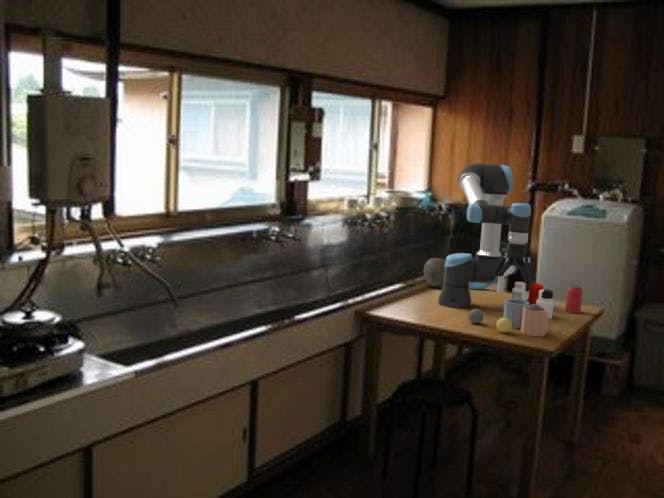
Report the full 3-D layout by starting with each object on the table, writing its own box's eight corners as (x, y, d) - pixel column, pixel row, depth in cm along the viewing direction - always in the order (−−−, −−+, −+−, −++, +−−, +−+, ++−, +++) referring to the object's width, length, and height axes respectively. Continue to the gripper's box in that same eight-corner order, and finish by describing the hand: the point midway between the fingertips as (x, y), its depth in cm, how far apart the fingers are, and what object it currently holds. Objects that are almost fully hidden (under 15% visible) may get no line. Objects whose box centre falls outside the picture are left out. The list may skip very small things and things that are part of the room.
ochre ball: (492, 331, 295) (494, 316, 294) (504, 330, 298) (505, 315, 297) (502, 335, 290) (504, 320, 289) (514, 333, 293) (515, 319, 292)
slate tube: (497, 322, 309) (499, 299, 307) (515, 321, 314) (518, 298, 312) (513, 328, 301) (515, 305, 299) (531, 327, 305) (534, 303, 304)
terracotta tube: (515, 330, 298) (517, 306, 297) (534, 328, 303) (536, 305, 301) (532, 337, 290) (534, 312, 288) (551, 335, 295) (553, 310, 293)
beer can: (581, 314, 334) (584, 288, 332) (566, 312, 336) (569, 287, 334) (579, 311, 341) (582, 285, 339) (564, 309, 342) (567, 284, 340)
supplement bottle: (515, 308, 339) (518, 280, 337) (528, 311, 334) (531, 283, 332) (507, 309, 334) (510, 282, 332) (520, 313, 329) (523, 285, 327)
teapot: (483, 285, 389) (485, 265, 387) (494, 291, 374) (496, 271, 372) (456, 284, 386) (458, 265, 385) (466, 290, 372) (468, 270, 370)
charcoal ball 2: (525, 320, 295) (522, 306, 299) (536, 322, 298) (533, 308, 301) (535, 314, 291) (532, 300, 294) (546, 316, 294) (543, 302, 297)
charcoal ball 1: (465, 321, 307) (466, 307, 306) (476, 320, 310) (477, 307, 309) (474, 325, 302) (475, 311, 301) (485, 324, 305) (487, 310, 304)
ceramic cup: (533, 300, 357) (535, 280, 355) (544, 309, 340) (547, 288, 338) (507, 299, 356) (509, 279, 355) (517, 307, 339) (519, 286, 338)
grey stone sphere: (455, 289, 373) (457, 259, 371) (433, 290, 366) (436, 261, 363) (437, 283, 385) (439, 255, 382) (415, 284, 377) (418, 256, 375)
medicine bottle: (552, 316, 328) (555, 289, 326) (551, 319, 321) (554, 292, 319) (535, 313, 330) (538, 287, 328) (534, 317, 323) (537, 290, 321)
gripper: (488, 238, 297) (483, 289, 301) (535, 247, 277) (529, 303, 280) (501, 237, 301) (496, 288, 305) (548, 247, 281) (542, 301, 284)
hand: (512, 295), depth 292 cm, fingers open, 13 cm apart
